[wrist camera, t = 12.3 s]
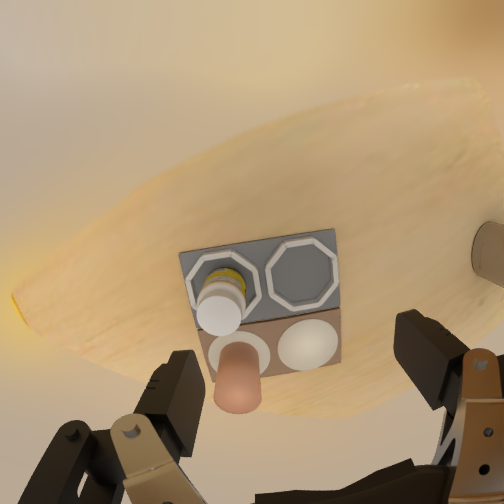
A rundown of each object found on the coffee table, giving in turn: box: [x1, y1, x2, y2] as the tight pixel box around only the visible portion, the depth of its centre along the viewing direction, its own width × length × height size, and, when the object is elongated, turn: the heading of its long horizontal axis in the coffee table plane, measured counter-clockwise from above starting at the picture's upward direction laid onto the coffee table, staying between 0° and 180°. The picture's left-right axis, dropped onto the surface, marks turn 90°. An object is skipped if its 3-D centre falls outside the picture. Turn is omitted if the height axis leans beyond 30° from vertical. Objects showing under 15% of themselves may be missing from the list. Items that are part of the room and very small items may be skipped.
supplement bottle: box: [196, 266, 246, 336], centre depth 27 cm, size 5×5×8 cm
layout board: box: [179, 229, 341, 414], centre depth 28 cm, size 18×19×9 cm
